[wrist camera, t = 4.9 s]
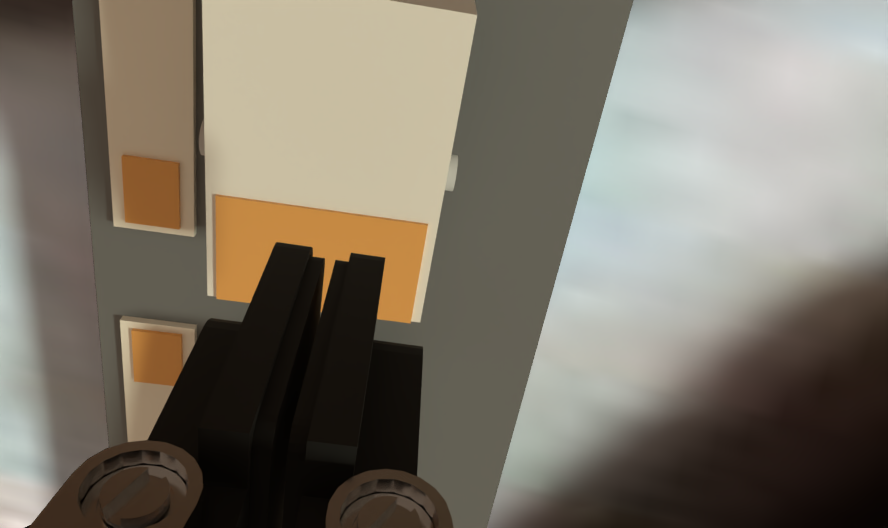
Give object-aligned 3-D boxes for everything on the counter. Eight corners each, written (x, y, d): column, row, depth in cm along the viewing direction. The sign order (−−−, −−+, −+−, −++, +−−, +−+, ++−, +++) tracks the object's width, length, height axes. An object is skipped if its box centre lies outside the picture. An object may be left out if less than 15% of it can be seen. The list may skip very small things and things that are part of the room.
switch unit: (119, -190, 15) (33, -202, 12) (620, -96, 16) (669, -84, 13) (157, 629, 29) (122, 729, 25) (430, 651, 30) (430, 751, 26)
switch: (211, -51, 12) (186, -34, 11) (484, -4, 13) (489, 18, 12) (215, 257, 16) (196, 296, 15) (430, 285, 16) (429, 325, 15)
